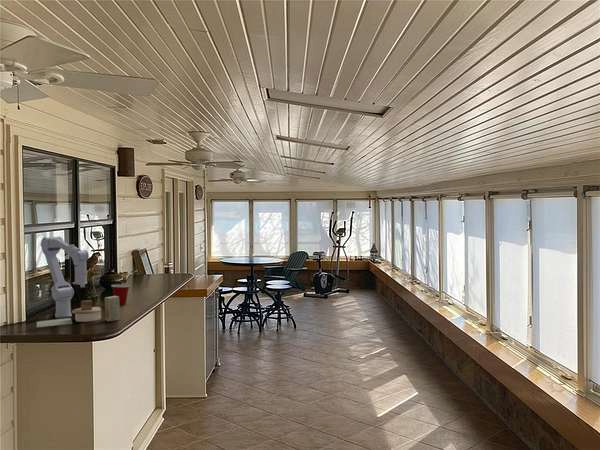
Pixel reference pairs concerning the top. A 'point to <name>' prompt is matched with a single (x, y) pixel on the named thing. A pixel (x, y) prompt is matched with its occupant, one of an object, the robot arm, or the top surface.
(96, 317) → the bowl
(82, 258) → the robot arm
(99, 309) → the lid
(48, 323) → the mat
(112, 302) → the skincare box
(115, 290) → the plastic cup
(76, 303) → the top surface
